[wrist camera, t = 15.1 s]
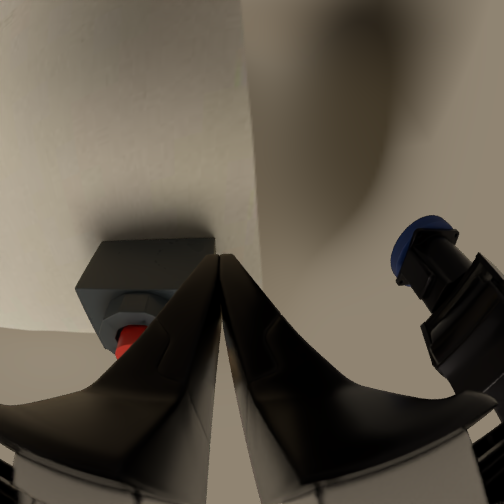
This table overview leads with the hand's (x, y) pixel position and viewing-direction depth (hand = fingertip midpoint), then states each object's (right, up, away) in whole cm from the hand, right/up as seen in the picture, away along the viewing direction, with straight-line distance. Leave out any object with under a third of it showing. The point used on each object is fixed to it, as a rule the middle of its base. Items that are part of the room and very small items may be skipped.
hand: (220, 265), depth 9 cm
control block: (-7, -1, +15) cm, 16 cm away
